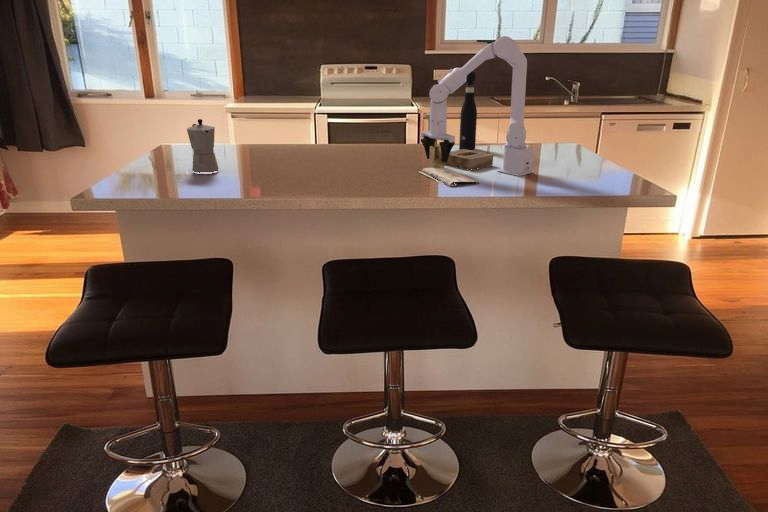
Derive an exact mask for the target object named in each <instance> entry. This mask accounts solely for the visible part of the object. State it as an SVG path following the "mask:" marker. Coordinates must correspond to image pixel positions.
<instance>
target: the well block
mask: <svg viewBox="0 0 768 512" xmlns="http://www.w3.org/2000/svg"><path fill="white" fill-rule="evenodd" d="M493 163H494V154H492V153H486V152H482V151H476V150H467V149H461V150H460V149H456V150H451V151H450V154H449V157H448V161H447V162H445V165H444V166H447V167H451V168H455V167H457V168H456V169H460V168H462V169H461V170H464V169H468V170H471V169H476V170H478V169H477V168H480V169H483V168H482V167H485V168H488V167H487V166H490V167H492V166H491V165H493ZM468 170H467V171H468ZM471 171H472V170H471Z"/></svg>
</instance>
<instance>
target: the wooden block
mask: <svg viewBox="0 0 768 512" xmlns="http://www.w3.org/2000/svg"><path fill="white" fill-rule="evenodd" d="M428 160H429V163H428V164H429V166H428V168H445V166H446V165H445V162H442V160H441V148H440V144H437V145H434V146H430V157H429V159H428Z"/></svg>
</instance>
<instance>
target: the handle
mask: <svg viewBox="0 0 768 512" xmlns="http://www.w3.org/2000/svg"><path fill="white" fill-rule="evenodd" d="M424 118H425V119H426V120H427V123H428V126H427V131H430V112H429V113H424ZM434 145H438V139H436V140H435V143H434Z"/></svg>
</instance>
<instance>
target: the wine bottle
mask: <svg viewBox="0 0 768 512" xmlns="http://www.w3.org/2000/svg"><path fill="white" fill-rule="evenodd" d="M476 77H477V73H476V71H472V72H470V73H469V74H468V75H467V79H466V87H465V92H464V100H463V103H462V106H461V111H460V118H459V119H460V120H459V123H460V125H459V146H458V150H461V149H467V150H472V151H476V140H477V139H476V137H477V121H478V120H477V118H478V110H477V104H476V102H475V101H476V100H475V88H474V86H475V85H474V83H475V81H476Z"/></svg>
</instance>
